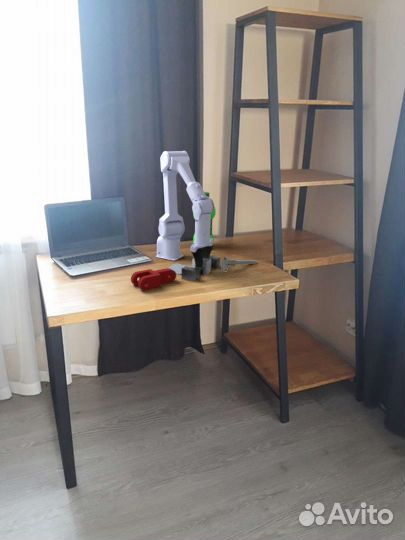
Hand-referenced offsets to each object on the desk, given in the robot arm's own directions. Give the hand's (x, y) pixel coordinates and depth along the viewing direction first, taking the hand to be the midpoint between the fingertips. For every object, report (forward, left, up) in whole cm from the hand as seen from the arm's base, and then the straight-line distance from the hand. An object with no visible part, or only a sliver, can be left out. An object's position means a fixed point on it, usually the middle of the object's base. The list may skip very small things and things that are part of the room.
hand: (201, 265), depth 174 cm
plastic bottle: (-16, +31, -3) cm, 35 cm away
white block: (0, 0, -3) cm, 3 cm away
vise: (0, 0, -3) cm, 3 cm away
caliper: (+10, +14, -3) cm, 18 cm away
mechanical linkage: (-8, -20, -3) cm, 22 cm away
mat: (-10, -2, -3) cm, 10 cm away
